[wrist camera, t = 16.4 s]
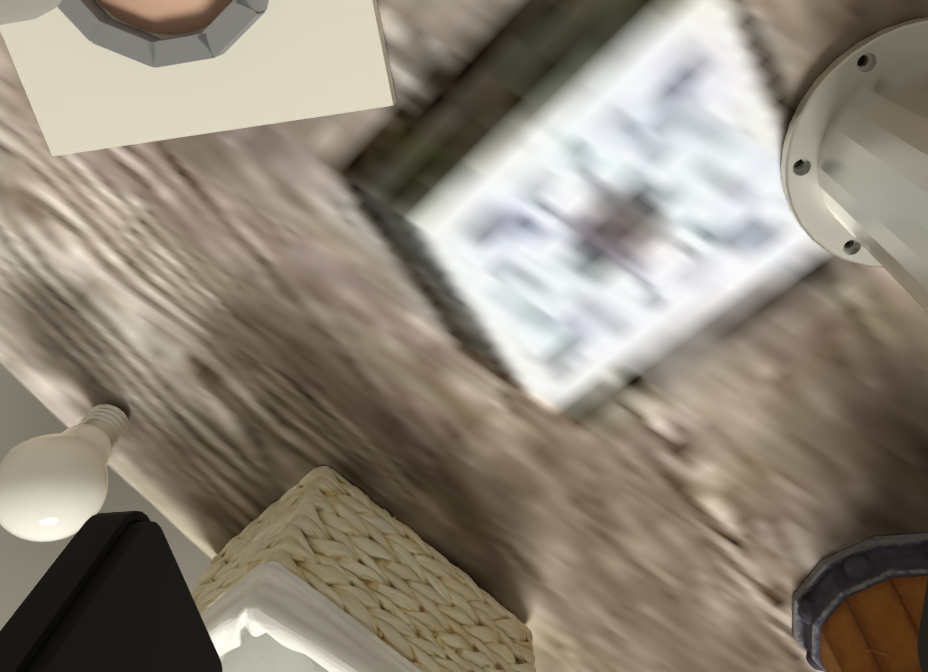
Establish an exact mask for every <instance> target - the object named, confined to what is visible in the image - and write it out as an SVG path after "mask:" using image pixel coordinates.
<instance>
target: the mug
mask: <svg viewBox="0 0 928 672" xmlns="http://www.w3.org/2000/svg"><path fill="white" fill-rule="evenodd" d="M927 580H928V533H919V534H904V535H890V536H876V537H871V538H869V539H867V540H864V541H862V542H860V543H858V544H856V545H853V546H851V547H849V548H847V549H845V550H843V551H840V552H838V553H836V554H834V555H832V556H830V557H827V558H825V559H823V560H821V561H820V562H819V564H818V565H817V566H816V567H815V569H814V570H813V571H812V572H811V573H810V575H809V576H808V577H807V578H806V580H805V581H804V582H803V583H802V584H801V586H800V587H799V588H798V589H797V591H796V592H795V593H794V594H793V595H792V633H793V635H794V638H795V639H796V640H797V641H798V642H799V643H800V644H801V645H802V647H803V648H804V649H805V650H806V651H807V655H806V659H807V661H808V663H809V664H810V665H811V666H812V667H813V668H814V669H816V670H820V671H824V672H922V669H921V666H920V663H919V658H918V650H917V641H918V635H919V629H920V622H921V616H922V610H923V604H924V598H925V592H926V586H927Z"/></svg>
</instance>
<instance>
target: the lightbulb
mask: <svg viewBox="0 0 928 672" xmlns="http://www.w3.org/2000/svg"><path fill="white" fill-rule="evenodd" d="M128 428H129V421H128V418H127V416H126V415H125V413H124V412H123V411H122V410H120V409H119V408H118V407H116V406H113V405H110V404H99V405H97V406H95V407H94V408H93V409H92V410H91V411H90V412H89V413H88V415H86V416H85V418H84V419H83V420H82V421H81V422H80V423H79V424H78V425H75V426H72V427H70V428H68V429H66V430H65V431H63V432H62V433H60V434H48V435H42V436H37V437H34V438H31V439H28V440H26V441H24V442H22V443H20V444H18V445H17V446H15V447H13V448H12V449H11V450H10V451H8V452H7V453H6V454H5V455H4V456H3V457H2V459H1V460H0V525H1V526H2V527H3V528H4V529H5V530H7V531H8V532H10V533H11V534H13V535H15V536H17V537H19V538H22V539H25V540H29V541H35V542H50V541H56V540H60V539H63V538H66V537H69V536H71V535H73V534H75V533H77V532H78V531H79V530H80V528H81V527H82V526H83V524H84V523H85V522H86V521H87V520H88V519H89V518H90V517H91V516H93V515H95V514H98V513H99V511H100V509H101V508H102V506H103V503H104V501H105V498H106V495H107V489H108V475H107V468H106V465H107V463H108V461H109V459H110V456H111V452H112V448H113V447H114V446H115V445H116V443H117V442H118V441H119V440H120V439H121V437H122V436H123V435H124V434H125V432H126V431H127V430H128Z"/></svg>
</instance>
